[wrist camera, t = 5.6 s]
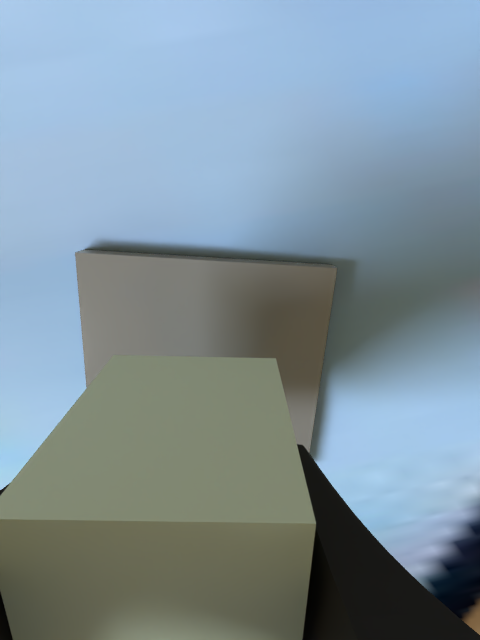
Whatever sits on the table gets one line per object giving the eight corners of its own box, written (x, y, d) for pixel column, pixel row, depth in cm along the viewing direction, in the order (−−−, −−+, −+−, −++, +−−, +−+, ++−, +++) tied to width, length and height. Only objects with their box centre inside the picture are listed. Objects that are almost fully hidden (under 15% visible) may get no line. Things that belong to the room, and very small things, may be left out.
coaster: (302, 464, 18) (305, 476, 17) (99, 456, 18) (93, 468, 17) (331, 264, 15) (337, 268, 14) (83, 249, 14) (75, 252, 14)
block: (267, 487, 13) (292, 721, 7) (125, 485, 13) (33, 720, 7) (275, 358, 11) (316, 523, 5) (113, 355, 11) (-19, 518, 5)
